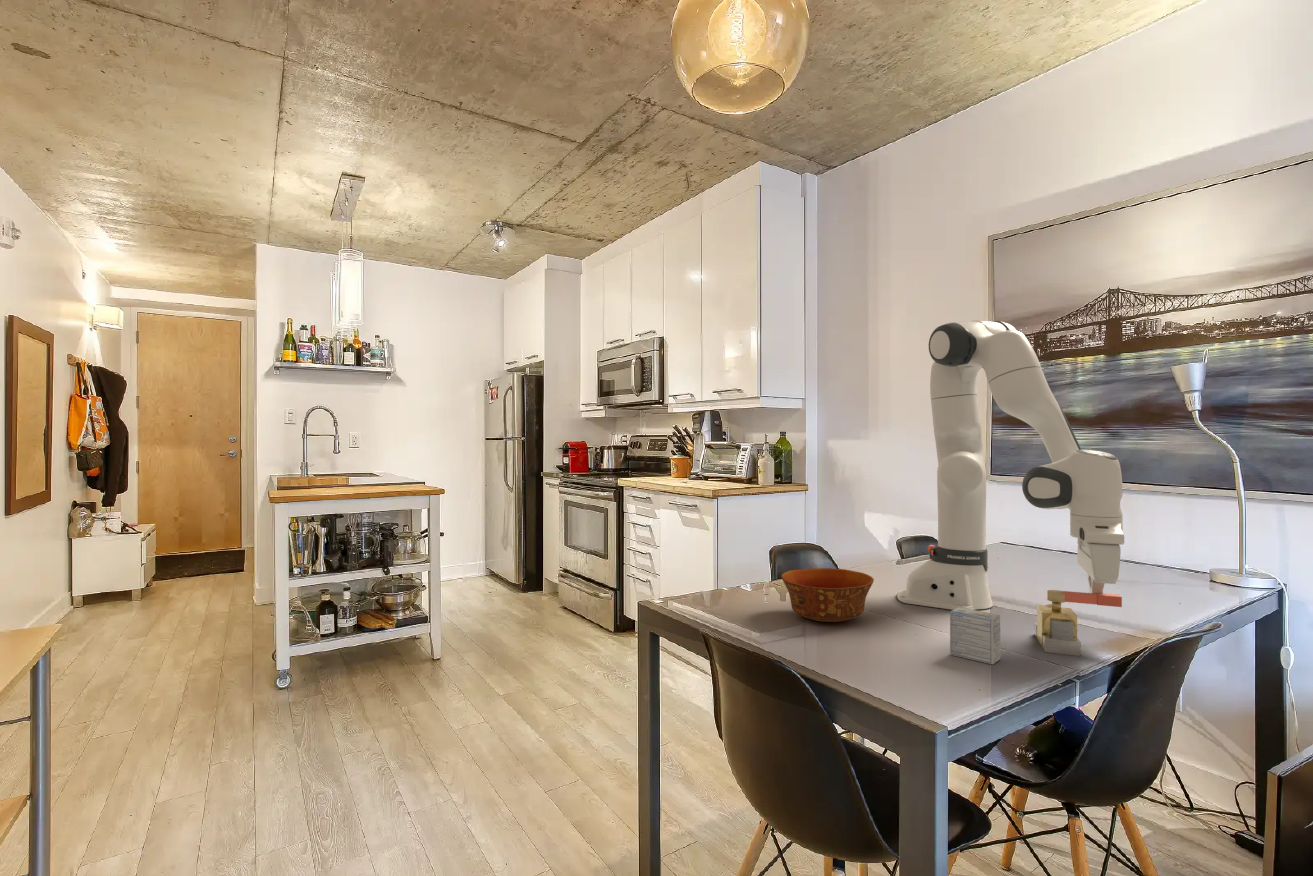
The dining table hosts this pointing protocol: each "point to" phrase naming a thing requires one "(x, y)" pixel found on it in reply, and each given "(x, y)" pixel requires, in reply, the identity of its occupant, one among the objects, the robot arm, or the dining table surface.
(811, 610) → the bowl
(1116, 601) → the lever
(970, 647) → the medicine box
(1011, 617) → the dining table surface
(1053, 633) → the valve
